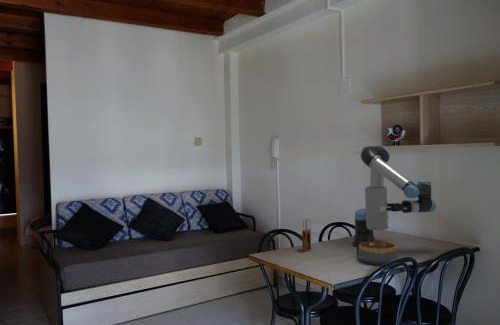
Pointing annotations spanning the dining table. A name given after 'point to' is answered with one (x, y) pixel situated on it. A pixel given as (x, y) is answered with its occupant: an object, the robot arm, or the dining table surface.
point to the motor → (377, 252)
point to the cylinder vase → (376, 207)
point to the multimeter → (306, 239)
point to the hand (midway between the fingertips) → (375, 207)
